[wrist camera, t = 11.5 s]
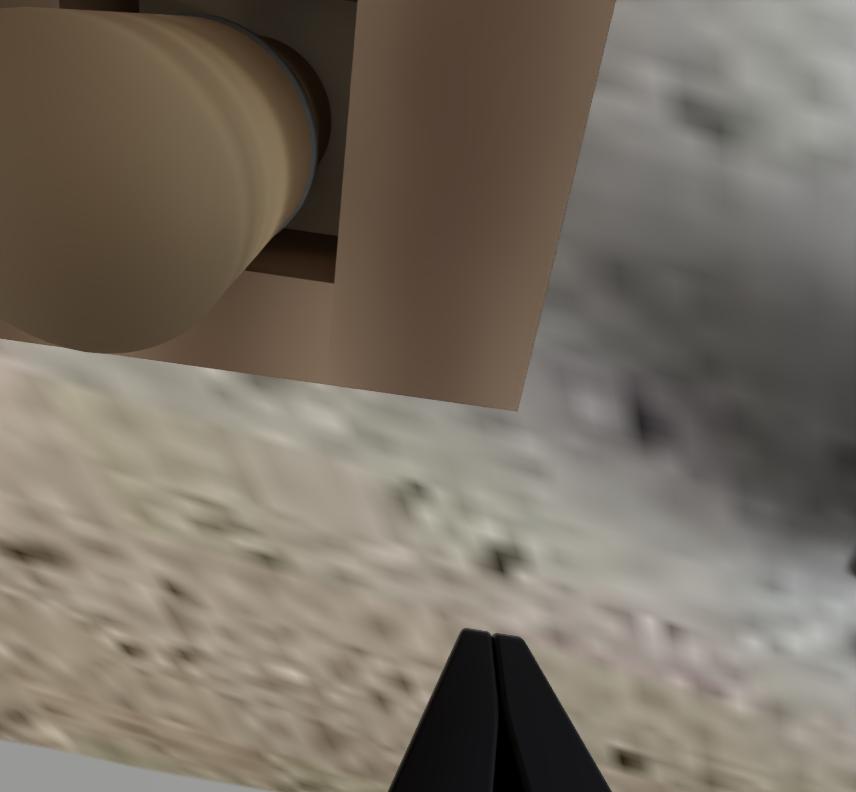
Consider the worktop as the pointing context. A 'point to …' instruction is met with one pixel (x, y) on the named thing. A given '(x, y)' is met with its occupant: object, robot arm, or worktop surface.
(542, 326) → the worktop surface
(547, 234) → the walnut socket block
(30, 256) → the oak peg
